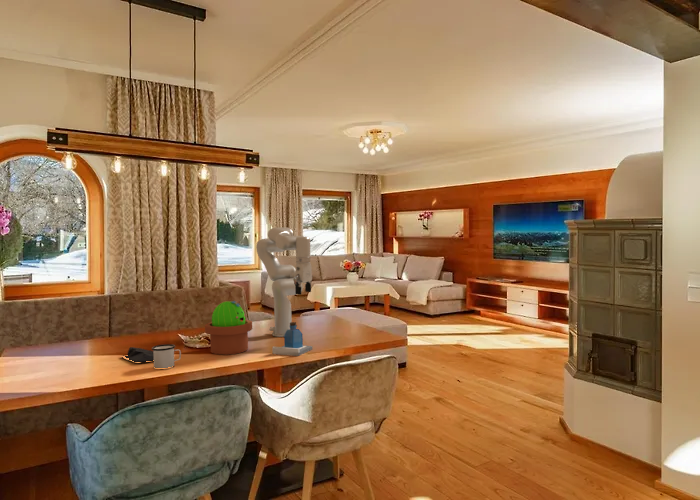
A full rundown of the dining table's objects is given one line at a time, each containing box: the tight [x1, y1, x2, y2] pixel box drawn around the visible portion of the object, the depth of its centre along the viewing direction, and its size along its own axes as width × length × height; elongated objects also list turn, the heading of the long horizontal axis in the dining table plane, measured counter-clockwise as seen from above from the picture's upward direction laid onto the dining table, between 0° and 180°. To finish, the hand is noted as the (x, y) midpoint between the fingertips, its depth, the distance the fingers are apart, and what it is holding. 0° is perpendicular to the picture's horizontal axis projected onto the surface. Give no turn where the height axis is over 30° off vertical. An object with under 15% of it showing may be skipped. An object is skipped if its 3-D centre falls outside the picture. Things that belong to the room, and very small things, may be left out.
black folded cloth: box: [122, 346, 154, 362], centre depth 220 cm, size 15×22×5 cm
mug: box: [151, 343, 182, 368], centre depth 205 cm, size 12×10×9 cm
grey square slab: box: [271, 344, 313, 357], centre depth 228 cm, size 14×14×3 cm
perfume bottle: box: [283, 321, 304, 348], centre depth 229 cm, size 6×6×12 cm
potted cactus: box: [204, 300, 253, 356], centre depth 232 cm, size 22×22×25 cm
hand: (303, 293), depth 246 cm, fingers open, 9 cm apart
